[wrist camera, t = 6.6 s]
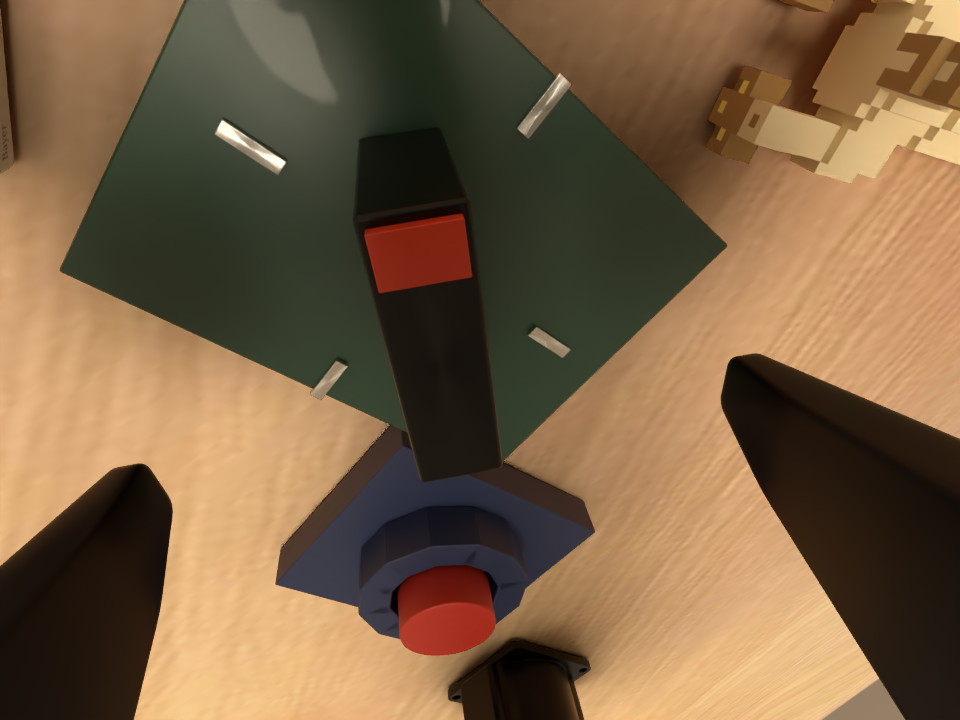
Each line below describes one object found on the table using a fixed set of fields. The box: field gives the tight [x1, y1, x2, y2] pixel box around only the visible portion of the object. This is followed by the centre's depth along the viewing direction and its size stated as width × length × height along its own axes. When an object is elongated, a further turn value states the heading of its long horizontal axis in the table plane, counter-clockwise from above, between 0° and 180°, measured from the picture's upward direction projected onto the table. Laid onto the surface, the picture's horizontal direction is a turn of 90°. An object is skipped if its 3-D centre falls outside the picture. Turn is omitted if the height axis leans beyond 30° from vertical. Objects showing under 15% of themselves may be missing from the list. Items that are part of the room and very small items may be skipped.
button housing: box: [275, 425, 595, 639], centre depth 23 cm, size 10×9×4 cm
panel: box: [60, 0, 727, 471], centre depth 15 cm, size 13×10×3 cm
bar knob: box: [353, 127, 503, 483], centre depth 12 cm, size 6×2×5 cm, turn 7°
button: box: [398, 565, 496, 656], centre depth 21 cm, size 4×4×2 cm
